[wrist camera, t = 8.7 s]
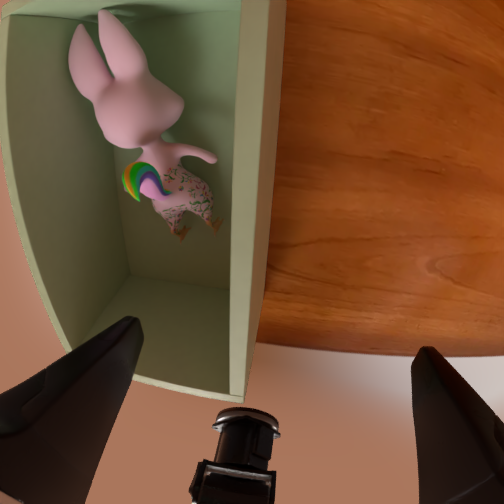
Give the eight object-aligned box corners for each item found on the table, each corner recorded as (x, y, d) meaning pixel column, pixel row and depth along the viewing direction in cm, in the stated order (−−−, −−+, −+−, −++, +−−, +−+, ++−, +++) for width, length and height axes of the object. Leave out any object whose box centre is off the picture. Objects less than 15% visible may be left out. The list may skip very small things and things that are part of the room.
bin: (263, 298, 23) (243, 404, 15) (127, 277, 24) (68, 358, 16) (286, 2, 13) (273, -73, 5) (108, 18, 14) (2, 5, 6)
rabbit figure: (248, 199, 20) (152, -14, 10) (241, 267, 16) (96, -16, 6) (168, 220, 22) (65, 41, 12) (145, 284, 18) (-2, 70, 8)
